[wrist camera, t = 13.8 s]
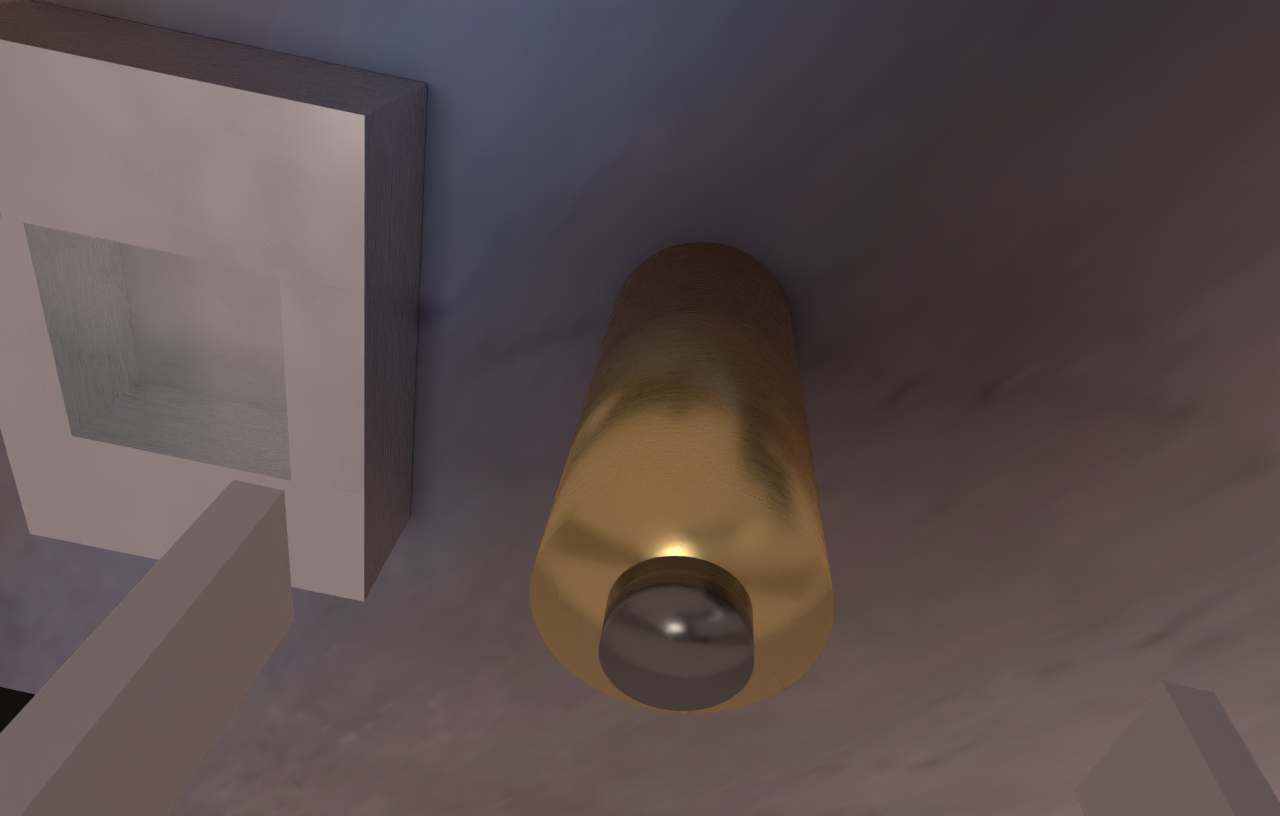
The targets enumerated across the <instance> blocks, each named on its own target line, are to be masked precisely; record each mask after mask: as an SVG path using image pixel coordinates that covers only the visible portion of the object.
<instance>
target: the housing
mask: <svg viewBox="0 0 1280 816" xmlns="http://www.w3.org/2000/svg"><path fill="white" fill-rule="evenodd" d="M426 103H427V83H422V82H418V81H413V80H408V79H403V78H398V77H394V76H389V75H384V74H379V73H374V72H370V71H365V70H360V69H355V68H351V67H346V66H341V65H336V64H331V63H327V62H322V61H317V60H312V59H308V58H303V57H298V56H293V55H288V54H284V53H279V52H274V51H269V50H265V49H260V48H255V47H250V46H245V45H241V44H236V43H231V42H226V41H222V40H217V39H212V38H207V37H202V36H198V35H193V34H188V33H183V32H179V31H174V30H169V29H164V28H159V27H155V26H150V25H145V24H140V23H136V22H131V21H126V20H121V19H116V18H112V17H107V16H102V15H97V14H93V13H88V12H83V11H78V10H73V9H69V8H64V7H59V6H54V5H50V4H45V3H40V2H35V1H30V0H27V1H18V2H8V3H0V429H1V432H2V436H3V439H4V443H5V447H6V450H7V454H8V457H9V461H10V464H11V468H12V471H13V475H14V478H15V482H16V486H17V489H18V493H19V496H20V500H21V503H22V507H23V510H24V514H25V518H26V521H27V525H28V528H29V532H30V534H35V535H39V536H44V537H49V538H54V539H59V540H64V541H69V542H74V543H79V544H84V545H89V546H94V547H98V548H103V549H108V550H113V551H118V552H123V553H128V554H133V555H138V556H143V557H148V558H153V559H158V560H160V559H161V558H162V557H163V556H164V554H165V553H166V552H167V551H168V550H169V549H170V548H171V547H172V546H173V545H174V544H175V543H176V541H177V540H178V539H179V538H180V537H181V536H182V535H183V534H184V533H185V532H186V531H187V529H188V528H189V527H190V526H191V525H192V524H193V523H194V522H195V521H196V520H197V519H198V517H199V516H200V515H201V514H202V513H203V512H204V511H205V510H206V509H207V508H208V507H209V506H210V504H211V503H212V502H213V501H214V500H215V499H216V498H217V497H218V496H219V495H220V494H221V492H222V491H223V490H224V489H225V488H226V487H227V486H228V485H229V484H230V483H231V482H232V480H238V481H242V482H247V483H251V484H256V485H261V486H265V487H270V488H275V489H279V490H284V494H285V508H286V521H287V535H288V548H289V562H290V575H291V587H295V588H300V589H305V590H310V591H315V592H320V593H325V594H330V595H335V596H340V597H345V598H349V599H354V600H359V601H365V599H366V597H367V595H368V593H369V592H370V590H371V588H372V586H373V584H374V582H375V581H376V579H377V577H378V575H379V573H380V571H381V570H382V568H383V566H384V564H385V562H386V560H387V559H388V557H389V555H390V553H391V551H392V549H393V548H394V546H395V544H396V542H397V540H398V538H399V537H400V535H401V533H402V531H403V529H404V527H405V526H406V524H407V522H408V520H409V518H410V511H411V485H412V460H413V434H414V409H415V383H416V358H417V332H418V307H419V281H420V256H421V231H422V205H423V180H424V154H425V129H426Z"/></svg>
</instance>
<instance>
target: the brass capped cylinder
mask: <svg viewBox="0 0 1280 816" xmlns="http://www.w3.org/2000/svg"><path fill="white" fill-rule="evenodd" d="M530 604H531V611H532V615H533V618H534V621H535V625H536V627H537V629H538V631H539V633H540V635H541V638H542V639H543V641H544V642H545V644H546V645H547V647H548V648H549V650H550V651H551V652H552V653H553V655H554V656H555V657H556V658H557V659H558V660H559V662H560V663H561V664H562V665H564V666H565V667H566V668H567V669H568V670H569V671H570V672H571V673H572V674H574V675H575V676H576V677H578V678H579V679H581V680H582V681H583V682H585V683H586V684H588V685H590V686H591V687H593V688H595V689H597V690H598V691H600V692H602V693H604V694H606V695H609V696H611V697H613V698H615V699H618V700H620V701H623V702H626V703H629V704H632V705H635V706H639V707H643V708H647V709H651V710H658V711H664V712H672V713H686V714H691V713H712V712H721V711H727V710H732V709H737V708H741V707H745V706H748V705H751V704H754V703H758V702H760V701H762V700H765V699H767V698H769V697H772V696H774V695H775V694H777V693H779V692H781V691H782V690H784V689H786V688H788V687H789V686H790V685H792V684H793V683H794V682H796V681H797V680H798V679H800V678H801V677H802V676H803V675H804V674H805V673H806V672H807V671H808V670H809V669H810V668H811V667H812V666H813V664H814V663H815V662H816V661H817V659H818V658H819V657H820V655H821V654H822V652H823V650H824V648H825V646H826V644H827V642H828V640H829V637H830V634H831V631H832V627H833V620H834V614H835V612H834V595H833V589H832V582H831V575H830V569H829V562H828V556H827V549H826V543H825V536H824V530H823V523H822V517H821V510H820V504H819V497H818V491H817V484H816V478H815V471H814V465H813V458H812V452H811V445H810V439H809V432H808V426H807V419H806V413H805V406H804V399H803V393H802V386H801V380H800V373H799V367H798V360H797V354H796V347H795V341H794V334H793V328H792V321H791V315H790V310H789V305H788V302H787V299H786V296H785V294H784V292H783V290H782V288H781V286H780V284H779V283H778V281H777V280H776V279H775V277H774V276H773V275H772V273H771V272H770V271H769V270H768V269H767V268H766V267H765V266H764V265H762V264H761V263H760V262H758V261H757V260H756V259H754V258H753V257H751V256H749V255H748V254H746V253H744V252H742V251H739V250H737V249H735V248H732V247H728V246H724V245H720V244H713V243H689V244H682V245H678V246H674V247H671V248H668V249H666V250H663V251H661V252H659V253H657V254H655V255H653V256H651V257H650V258H649V259H647V260H646V261H644V262H643V263H642V264H641V265H639V266H638V267H637V268H636V269H635V270H634V271H633V272H632V274H631V275H630V276H629V277H628V279H627V280H626V281H625V283H624V285H623V286H622V288H621V290H620V292H619V295H618V297H617V300H616V303H615V306H614V309H613V312H612V316H611V319H610V322H609V325H608V329H607V332H606V335H605V338H604V342H603V345H602V348H601V351H600V354H599V358H598V361H597V364H596V367H595V371H594V374H593V377H592V380H591V384H590V387H589V390H588V393H587V397H586V400H585V403H584V406H583V409H582V413H581V416H580V419H579V422H578V426H577V429H576V432H575V435H574V439H573V442H572V445H571V448H570V452H569V455H568V458H567V461H566V465H565V468H564V471H563V474H562V477H561V481H560V484H559V487H558V490H557V494H556V497H555V500H554V503H553V507H552V510H551V513H550V516H549V520H548V523H547V526H546V529H545V532H544V536H543V539H542V542H541V545H540V549H539V552H538V555H537V558H536V562H535V565H534V568H533V573H532V577H531V581H530Z"/></svg>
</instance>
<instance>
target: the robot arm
mask: <svg viewBox="0 0 1280 816" xmlns="http://www.w3.org/2000/svg"><path fill="white" fill-rule="evenodd" d="M293 621H294V615H293V602H292V589H291V575H290V562H289V548H288V535H287V521H286V508H285V494H284V490H279V489H275V488H270V487H265V486H261V485H256V484H251V483H247V482H242V481H238V480H232V482H231V483H230V484H229V485H228V486H227V487H226V488H225V489H224V490H223V491H222V492H221V494H220V495H219V496H218V497H217V498H216V499H215V500H214V501H213V502H212V503H211V504H210V506H209V507H208V508H207V509H206V510H205V511H204V512H203V513H202V514H201V515H200V516H199V517H198V519H197V520H196V521H195V522H194V523H193V524H192V525H191V526H190V527H189V528H188V529H187V531H186V532H185V533H184V534H183V535H182V536H181V537H180V538H179V539H178V540H177V541H176V543H175V544H174V545H173V546H172V547H171V548H170V549H169V550H168V551H167V552H166V553H165V554H164V556H163V557H162V558H161V559H160V560H159V561H158V562H157V563H156V564H155V565H154V566H153V568H152V569H151V570H150V571H149V572H148V573H147V574H146V575H145V576H144V577H143V578H142V580H141V581H140V582H139V583H138V584H137V585H136V586H135V587H134V588H133V589H132V590H131V591H130V593H129V594H128V595H127V596H126V597H125V598H124V599H123V600H122V601H121V602H120V603H119V605H118V606H117V607H116V608H115V609H114V610H113V611H112V612H111V613H110V614H109V615H108V617H107V618H106V619H105V620H104V621H103V622H102V623H101V624H100V625H99V626H98V627H97V628H96V630H95V631H94V632H93V633H92V634H91V635H90V636H89V637H88V638H87V639H86V640H85V642H84V643H83V644H82V645H81V646H80V647H79V648H78V649H77V650H76V651H75V652H74V654H73V655H72V656H71V657H70V658H69V659H68V660H67V661H66V662H65V663H64V664H63V666H62V667H61V668H60V669H59V670H58V671H57V672H56V673H55V674H54V675H53V676H52V677H51V679H50V680H49V681H48V682H47V683H46V684H45V685H44V686H43V687H42V688H41V689H40V691H39V692H38V693H37V694H36V695H35V694H31V693H26V692H21V691H17V690H12V689H8V688H3V687H0V816H167V815H168V813H169V812H170V810H171V809H172V807H173V806H174V804H175V803H176V801H177V800H178V798H179V797H180V795H181V793H182V792H183V790H184V789H185V787H186V786H187V784H188V783H189V781H190V780H191V778H192V777H193V775H194V773H195V772H196V770H197V769H198V767H199V766H200V764H201V763H202V761H203V760H204V758H205V756H206V755H207V753H208V752H209V750H210V749H211V747H212V746H213V744H214V743H215V741H216V740H217V738H218V736H219V735H220V733H221V732H222V730H223V729H224V727H225V726H226V724H227V723H228V721H229V720H230V718H231V716H232V715H233V713H234V712H235V710H236V709H237V707H238V706H239V704H240V703H241V701H242V700H243V698H244V696H245V695H246V693H247V692H248V690H249V689H250V687H251V686H252V684H253V683H254V681H255V679H256V678H257V676H258V675H259V673H260V672H261V670H262V669H263V667H264V666H265V664H266V663H267V661H268V659H269V658H270V656H271V655H272V653H273V652H274V650H275V649H276V647H277V646H278V644H279V643H280V641H281V639H282V638H283V636H284V635H285V633H286V632H287V630H288V629H289V627H290V626H291V624H292V622H293ZM1075 792H1076V794H1077V797H1078V800H1079V802H1080V805H1081V808H1082V810H1083V813H1084V816H1280V802H1279V801H1278V799H1277V797H1276V795H1275V794H1274V792H1273V790H1272V789H1271V787H1270V785H1269V784H1268V782H1267V780H1266V779H1265V777H1264V775H1263V774H1262V772H1261V770H1260V769H1259V767H1258V765H1257V764H1256V762H1255V760H1254V759H1253V757H1252V755H1251V754H1250V752H1249V750H1248V748H1247V747H1246V745H1245V743H1244V742H1243V740H1242V738H1241V737H1240V735H1239V733H1238V732H1237V730H1236V728H1235V727H1234V725H1233V723H1232V722H1231V720H1230V718H1229V717H1228V715H1227V713H1226V712H1225V710H1224V708H1223V707H1222V705H1221V703H1220V701H1219V700H1218V698H1217V696H1216V695H1215V693H1214V692H1209V691H1205V690H1200V689H1196V688H1191V687H1186V686H1182V685H1177V684H1173V683H1168V682H1163V681H1162V683H1161V684H1160V685H1159V686H1158V688H1157V689H1156V690H1155V691H1154V693H1153V694H1152V695H1151V696H1150V698H1149V699H1148V700H1147V701H1146V703H1145V704H1144V705H1143V706H1142V708H1141V709H1140V710H1139V712H1138V713H1137V714H1136V715H1135V717H1134V718H1133V719H1132V720H1131V722H1130V723H1129V724H1128V725H1127V727H1126V728H1125V729H1124V730H1123V732H1122V733H1121V734H1120V735H1119V737H1118V738H1117V739H1116V740H1115V742H1114V743H1113V744H1112V745H1111V747H1110V748H1109V749H1108V750H1107V752H1106V753H1105V754H1104V755H1103V757H1102V758H1101V759H1100V760H1099V762H1098V763H1097V764H1096V765H1095V767H1094V768H1093V769H1092V770H1091V772H1090V773H1089V774H1088V775H1087V777H1086V778H1085V779H1084V780H1083V782H1082V783H1081V784H1080V785H1079V787H1078V788H1077V789H1076V791H1075Z"/></svg>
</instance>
